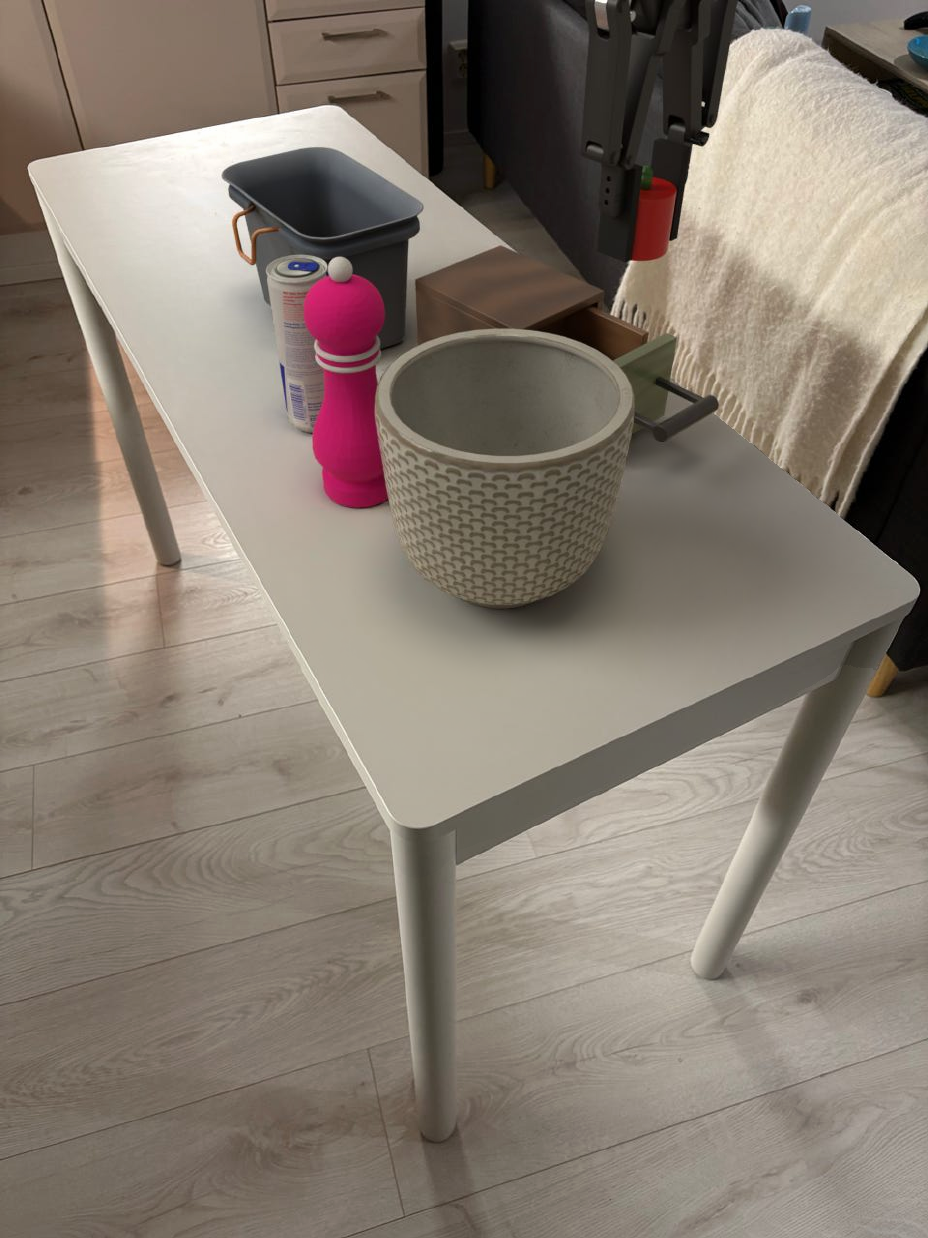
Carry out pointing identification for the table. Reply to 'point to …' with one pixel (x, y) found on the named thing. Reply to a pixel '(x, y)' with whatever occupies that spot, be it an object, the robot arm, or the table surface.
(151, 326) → the table surface
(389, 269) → the storage bin
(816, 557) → the table surface
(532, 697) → the table surface
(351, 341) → the pepper mill
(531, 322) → the cabinet
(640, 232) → the pepper
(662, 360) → the drawer
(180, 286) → the table surface
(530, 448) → the planter
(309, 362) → the beverage can
